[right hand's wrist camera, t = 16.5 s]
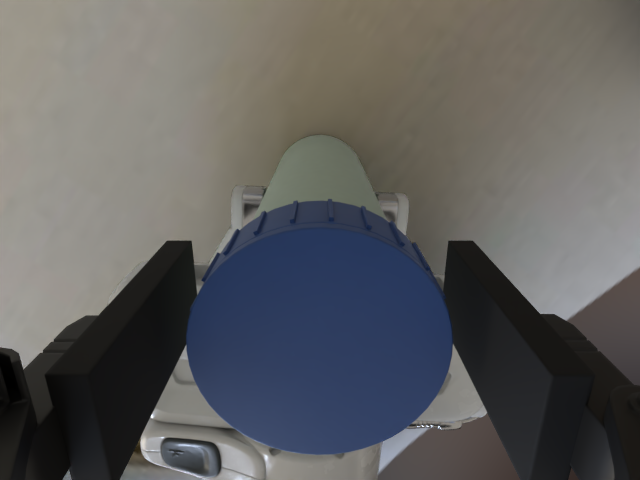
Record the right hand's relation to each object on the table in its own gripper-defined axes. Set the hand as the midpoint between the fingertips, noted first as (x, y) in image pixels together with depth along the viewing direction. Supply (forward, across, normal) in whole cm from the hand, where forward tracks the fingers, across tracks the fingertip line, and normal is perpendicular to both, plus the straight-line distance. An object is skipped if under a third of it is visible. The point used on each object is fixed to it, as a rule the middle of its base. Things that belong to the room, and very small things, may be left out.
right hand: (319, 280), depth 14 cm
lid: (-4, 0, 0) cm, 4 cm away
